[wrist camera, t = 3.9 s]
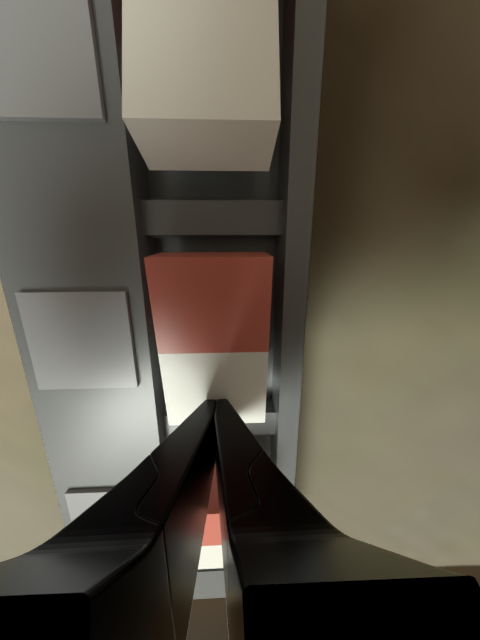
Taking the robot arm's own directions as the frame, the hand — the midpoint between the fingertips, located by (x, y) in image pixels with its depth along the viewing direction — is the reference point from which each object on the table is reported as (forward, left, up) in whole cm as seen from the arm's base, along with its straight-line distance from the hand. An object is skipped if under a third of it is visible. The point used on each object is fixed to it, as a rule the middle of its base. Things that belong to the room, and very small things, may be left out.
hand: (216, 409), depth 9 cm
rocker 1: (0, -12, -1) cm, 12 cm away
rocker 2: (0, -3, -1) cm, 3 cm away
